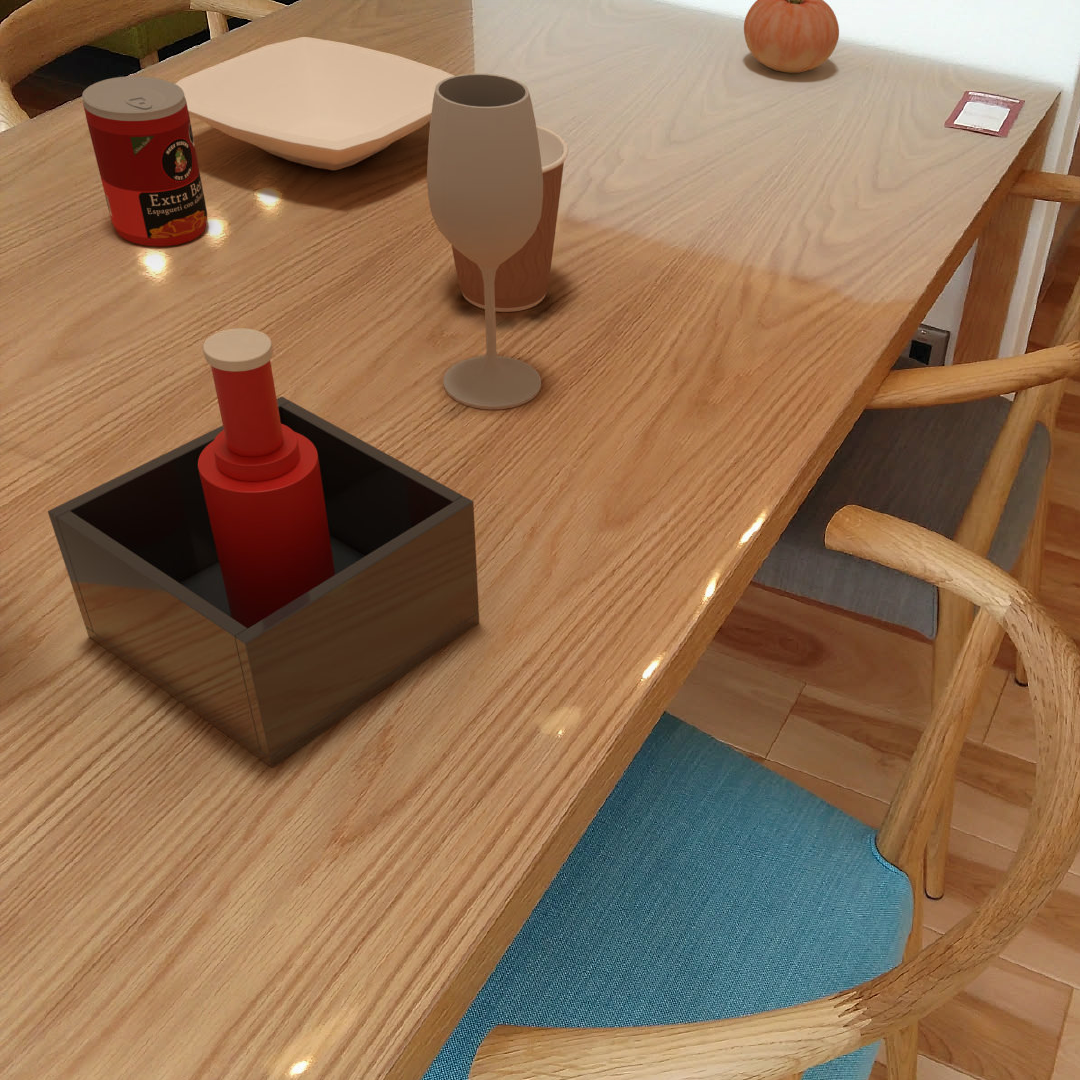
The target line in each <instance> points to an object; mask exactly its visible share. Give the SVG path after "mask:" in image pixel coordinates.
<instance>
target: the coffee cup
mask: <svg viewBox="0 0 1080 1080" xmlns="http://www.w3.org/2000/svg"><path fill="white" fill-rule="evenodd" d="M536 128H537V134H538V141H539V149H540V157H541V165H542V175H543V202H542V211H541V218H540V220H539V223H538V225H537V228H536V230H535V232H534V234H533V235H532V236H531V238H530V239H529V240H528V241H527V242H526V244H525V245H524V246H523V247H522V248H521V249H520V250H519V251H517V252H516V253H515V254H514V255H512V256H511V257H510V258H509V259H507V260H506V261H504V262H503V263H502V264H500V265H499V267H498V269H497V270H496V274H495V281H494V290H495V312H497V313H498V312H500V313H511V312H512V313H513V312H514V313H515V312H521V311H525V310H528V309H531V308H533V307H535V306H537V305H538V304H540V303H541V302H542V301H543V300H544V299H545V297H546V294H547V291H548V285H549V283H550V279H551V278H550V277H551V270H552V261H553V254H554V245H555V237H556V231H557V223H558V213H559V205H560V197H561V189H562V181H563V173H564V165H565V163H564V162H565V161H566V160H567V157H568V156H569V148H568V144H567V142H566V140H564V138H563V137H561V136H560V135H559V134H557V133H556V132H554V131H552V130H550V129H548V128H546V127H543V126H540V125H537V124H536ZM451 250H452V255H453V262H454V267H455V272H456V278H457V282H458V284H459V287H460V291H461V294H462V296H463V298H464V299H465V300H466V301H467V302H469V303H470V304H472V305H473V306H475V307H477V308H479V309H483V310H485V298H484V281H483V276H482V271H481V270H480V268H479V266H478V265H477V264H476V263H474V262H473V261H471V260H470V259H468V258H467V257H466V256H464V255H463V254H462V253H460V252H459V251H458V250H457V249H455V248H454V247H453V246H452V245H451Z"/></svg>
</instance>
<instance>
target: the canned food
mask: <svg viewBox="0 0 1080 1080" xmlns="http://www.w3.org/2000/svg"><path fill="white" fill-rule="evenodd" d="M81 98H82V105H83V110H84V114H85V120H86V123H87V127H88V133H89V136H90V139H91V144H92V147H93V152H94V155H95V159H96V160H95V161H96V164H97V168H98V172H99V176H100V180H101V184H102V188H103V193H104V197H105V200H106V204H107V207H108V208H107V209H108V213H109V217H110V220H111V223H112V225H113V228H114V229H115V231H116V232H117V234H118V236H119V237H121V238H122V239H124V240H125V241H127V242H129V243H133V244H136V245H140V246H146V247H159V248H160V247H171V246H172V247H173V246H178V245H183V244H185V243H189V242H191V241H194V240H196V239H198V237H200V236H201V235H203V233H204V232H205V231H206V228H207V226H208V225H207V224H208V211H207V205H206V200H205V193H204V189H203V184H202V183H203V182H202V178H201V171H200V166H199V161H198V156H197V151H196V145H195V139H194V134H193V128H192V123H191V117H190V114H189V112H188V107H187V102H186V98H185V96H184V92H183V90H182V89H181V88H180V87H179V86H178V85H176V84H175V82H171V81H169V80H166V79H162V78H158V77H151V76H139V75H138V76H137V75H133V76H131V75H130V76H118V77H112V78H108V79H103V80H100V81H97V82H95V83H93V84H91V85H89V86H88V87H86V88H85V89H84V90H83V92H82V94H81Z"/></svg>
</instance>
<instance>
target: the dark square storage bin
mask: <svg viewBox="0 0 1080 1080" xmlns="http://www.w3.org/2000/svg"><path fill="white" fill-rule="evenodd" d="M276 398H277V404H278V410H279V416H280V422H281V424H284V425H286V426H288V427H289V428H291V429H292V430H293V431H294V432H296V433H299V434H301V435H303V436H304V437H306V438H307V439H309V440H310V441H311V442H312V443H313V445H314V446H315V448H316V450H317V453H318V459H319V466H320V473H321V480H322V487H323V494H324V501H325V507H326V514H327V521H328V528H329V535H330V542H331V549H332V555H333V562H334V569H335V575H334V576H332V577H331V578H329V579H327V580H326V581H324V582H323V583H321V584H319V585H318V586H316V587H314V588H313V589H311V590H310V591H308V592H306V593H305V594H303V595H301V596H300V597H298V598H297V599H295V600H293V601H292V602H290V603H288V604H287V605H285V606H284V607H282V608H280V609H279V610H277V611H275V612H274V613H272V614H271V615H269V616H267V617H266V618H264V619H262V620H261V621H259V622H258V623H256V624H254V625H253V626H251V627H249V628H248V629H247V627H245V626H244V625H242V624H241V623H239V622H237V621H236V620H234V619H233V618H232V617H231V613H230V608H229V604H228V599H227V595H226V590H225V586H224V582H223V577H222V573H221V568H220V564H219V559H218V555H217V550H216V546H215V541H214V537H213V532H212V528H211V523H210V519H209V514H208V510H207V505H206V501H205V496H204V492H203V487H202V483H201V478H200V474H199V469H198V459H199V457H200V454H201V453H202V451H203V450H204V449H205V447H206V446H208V445H209V444H210V443H211V442H213V441H214V439H215V438H216V436H217V435H218V434H219V433H220V432H221V431H223V430H224V428H223V424H222V425H220V426H218V427H216V428H214V429H212V430H210V431H208V432H206V433H204V434H201V435H200V436H198V437H196V438H194V439H191V440H190V441H187V442H186V443H183V444H182V445H180V446H178V447H175V448H172V449H171V450H169V451H167V452H165V453H163V454H161V455H159V456H157V457H155V458H153V459H151V460H148V461H147V462H145V463H143V464H141V465H139V466H136V467H134V468H132V469H130V470H128V471H126V472H125V473H122V474H120V475H118V476H117V477H114V478H112V479H110V480H107V481H106V482H104V483H102V484H100V485H98V486H96V487H94V488H92V489H89V490H88V491H86V492H84V493H82V494H80V495H77V496H75V497H74V498H73V497H72V498H71V499H70V500H68V501H65V502H63V503H60V504H59V505H56V506H55V507H53V508H51V509H49V510H48V511H47V513H48V517H49V521H50V523H51V526H52V529H53V532H54V535H55V538H56V542H57V544H58V547H59V550H60V554H61V556H62V560H63V562H64V566H65V568H66V573H67V575H68V578H69V581H70V583H71V587H72V590H73V593H74V597H75V600H76V602H77V605H78V608H79V611H80V615H81V617H82V621H83V623H84V627H85V631H86V633H87V636H88V637H89V638H90V639H92V640H93V641H94V642H96V643H97V644H98V645H99V646H101V647H102V648H104V649H105V650H107V651H108V652H110V653H111V654H113V655H114V656H115V657H116V658H118V659H119V660H121V661H122V662H124V663H125V664H127V665H128V666H130V667H131V668H132V669H134V670H135V671H137V672H138V673H139V674H141V675H142V676H144V677H145V678H146V679H147V680H149V681H151V682H152V683H153V684H155V685H156V686H158V687H159V688H160V689H162V690H163V691H164V692H166V693H167V694H168V695H170V696H171V697H173V698H174V699H175V700H177V701H178V702H179V703H181V704H183V706H185V707H186V708H188V709H190V710H191V711H192V712H194V713H195V714H196V715H198V716H199V717H201V718H202V719H203V720H205V721H206V722H207V723H209V724H211V725H212V726H213V727H215V728H216V729H218V730H219V731H220V732H222V733H223V734H225V735H226V736H227V737H228V738H230V739H231V740H233V741H234V742H236V743H237V744H239V745H240V746H241V747H242V748H244V749H246V750H247V751H248V752H250V753H251V754H253V755H254V756H255V757H257V758H258V759H260V760H261V761H262V762H264V763H265V764H267V766H269V767H271V768H275V767H276V766H278V765H279V764H280V763H282V762H283V761H284V760H286V759H287V758H289V757H290V756H291V755H293V754H294V753H296V752H297V751H298V750H300V749H301V748H303V747H305V746H306V745H307V744H308V743H310V742H312V741H313V740H314V739H316V738H317V737H318V736H320V735H322V734H323V733H324V732H325V731H327V730H328V729H329V728H331V727H332V726H335V725H336V724H337V723H338V722H340V721H341V720H342V719H344V718H345V717H347V716H348V715H350V714H351V713H352V712H354V711H356V709H359V708H360V707H361V706H363V705H364V704H365V703H366V702H368V701H370V700H371V699H373V698H374V697H375V696H376V695H379V693H381V692H382V691H384V690H385V689H387V688H388V687H389V686H391V685H392V684H394V683H395V682H396V681H397V680H398V681H399V679H401V678H402V677H403V676H405V675H406V674H408V673H409V672H410V671H412V670H413V669H415V668H416V667H418V666H420V664H422V663H423V662H425V661H426V660H427V659H429V658H431V656H433V655H434V654H436V653H438V652H439V651H441V649H443V648H444V647H446V646H447V645H449V644H451V642H453V641H454V640H456V639H458V637H460V636H462V635H463V634H464V633H466V632H468V631H469V630H470V629H471V628H473V627H474V626H476V625H477V624H479V623H480V606H479V604H480V603H479V587H478V566H477V565H478V564H477V546H476V544H477V543H476V524H475V504H474V500H472V499H470V498H468V497H467V496H464V495H463V494H461V493H459V492H457V491H455V490H454V489H452V488H450V487H448V486H446V485H445V484H442V483H441V482H439V481H437V480H435V479H434V478H431V477H430V476H428V475H426V474H424V473H422V472H420V471H419V470H417V469H415V468H414V467H412V466H410V465H408V464H406V463H404V462H403V461H401V460H399V459H397V458H395V457H394V456H391V454H390V455H389V454H388V453H386V452H384V451H382V450H381V449H379V448H377V447H375V446H373V445H371V444H370V443H368V442H366V441H364V440H362V439H361V438H359V437H357V436H355V435H353V434H352V433H350V432H348V431H346V430H345V429H343V428H340V427H338V426H337V425H335V424H334V423H332V422H330V421H327V420H326V419H324V418H322V417H320V416H319V415H317V414H316V413H313V412H311V411H310V410H308V409H306V408H304V407H302V406H301V405H299V404H297V403H296V402H293V401H291V400H289V399H288V398H286V397H284V396H279V397H276Z"/></svg>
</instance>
